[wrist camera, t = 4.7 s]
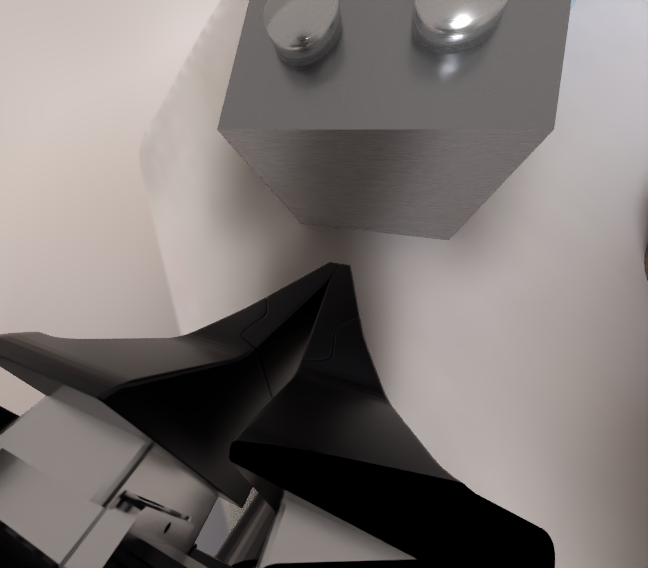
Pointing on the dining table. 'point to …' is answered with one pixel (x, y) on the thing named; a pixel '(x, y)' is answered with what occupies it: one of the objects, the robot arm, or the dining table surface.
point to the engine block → (393, 105)
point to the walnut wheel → (646, 263)
